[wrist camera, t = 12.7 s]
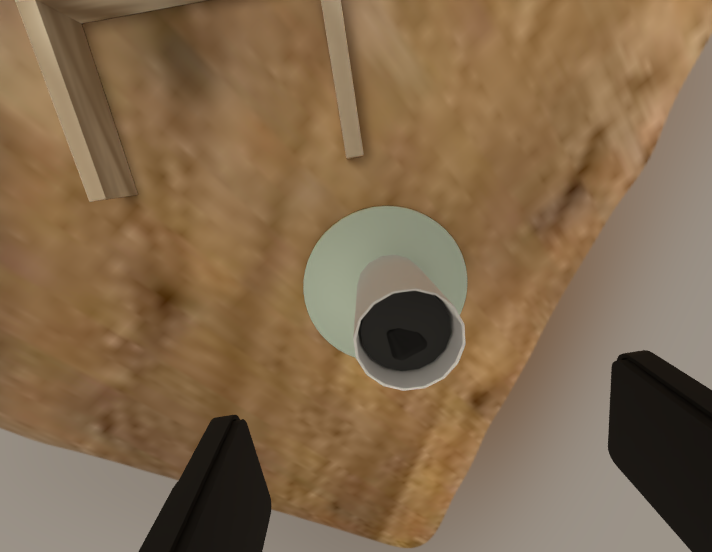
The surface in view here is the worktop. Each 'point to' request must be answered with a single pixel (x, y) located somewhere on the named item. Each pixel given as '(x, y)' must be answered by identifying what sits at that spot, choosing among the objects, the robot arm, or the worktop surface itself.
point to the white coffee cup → (404, 326)
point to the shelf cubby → (87, 98)
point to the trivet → (363, 245)
